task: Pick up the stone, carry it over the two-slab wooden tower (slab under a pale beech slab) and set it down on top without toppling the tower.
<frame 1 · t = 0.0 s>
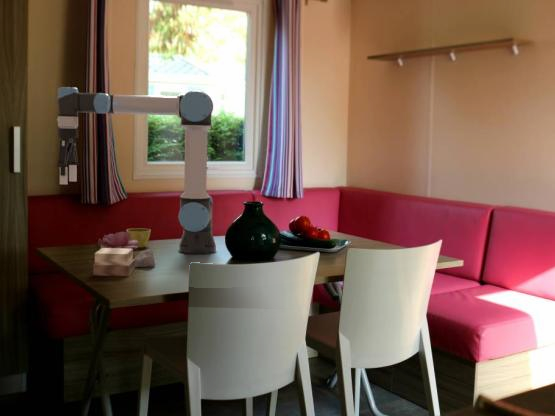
hand: (68, 182, 282), 28 cm above the table, fingers open, 13 cm apart
stone: (146, 266, 267), on the table
flower pot: (138, 247, 306), on the table
flower: (119, 257, 283), on the table
tower base: (114, 273, 254), on the table, touching tower top
tower top: (114, 262, 254), point 3 cm above the table, touching tower base
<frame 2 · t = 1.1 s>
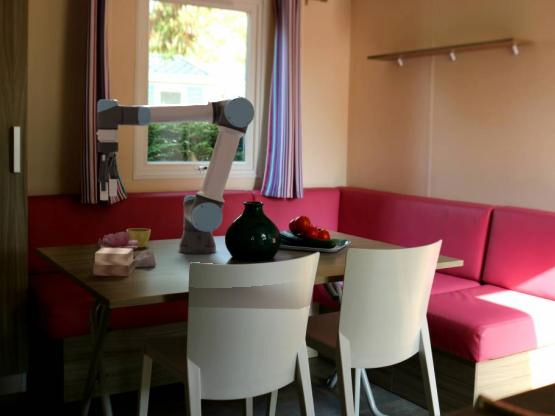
hand: (108, 198, 273), 24 cm above the table, fingers open, 13 cm apart
nothing on the table moved.
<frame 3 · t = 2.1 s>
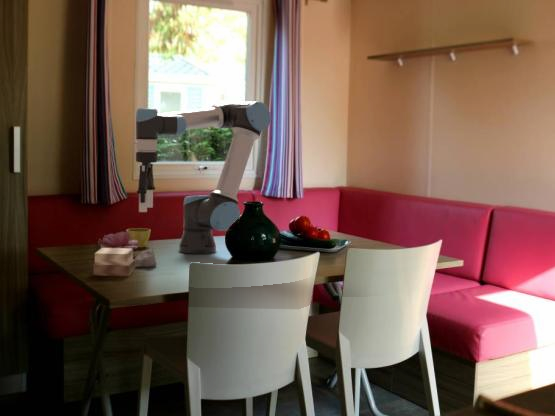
hand: (146, 209, 265), 21 cm above the table, fingers open, 13 cm apart
nothing on the table moved.
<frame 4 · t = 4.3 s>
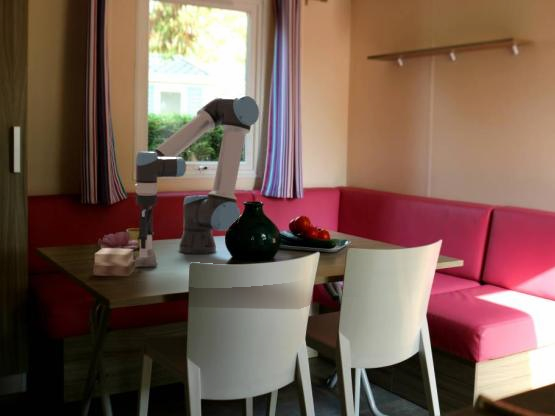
hand: (145, 254, 267), 4 cm above the table, fingers open, 10 cm apart
stone: (148, 266, 267), on the table, touching gripper
everything else where it was.
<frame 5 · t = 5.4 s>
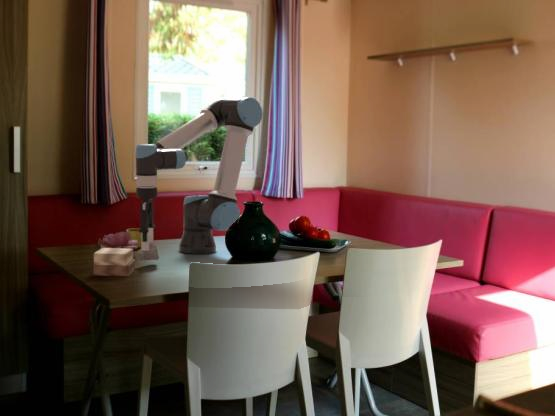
hand: (147, 247, 267), 7 cm above the table, fingers closed on stone, 9 cm apart
stone: (150, 259, 267), point 2 cm above the table, touching gripper
everything else where it was.
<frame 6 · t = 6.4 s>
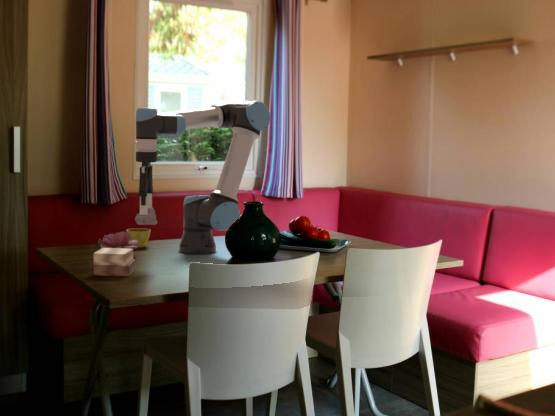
hand: (145, 212, 265), 20 cm above the table, fingers closed on stone, 9 cm apart
stone: (148, 224, 265), point 15 cm above the table, touching gripper
everything else where it was.
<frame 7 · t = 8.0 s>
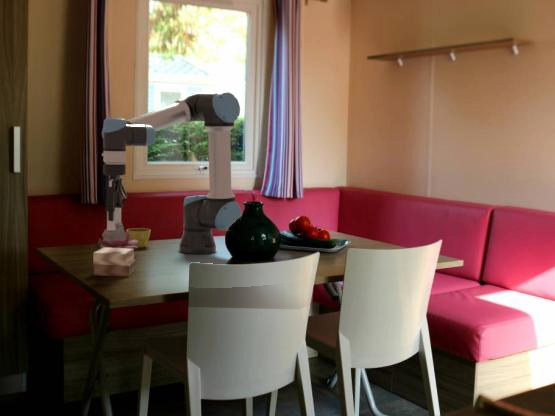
hand: (114, 228, 252), 16 cm above the table, fingers closed on stone, 9 cm apart
stone: (116, 240, 253), point 11 cm above the table, touching gripper
everything else where it was.
when the fingers open (12 cm above the table, at t = 9.0 s): stone moves 2 cm, resting on tower top.
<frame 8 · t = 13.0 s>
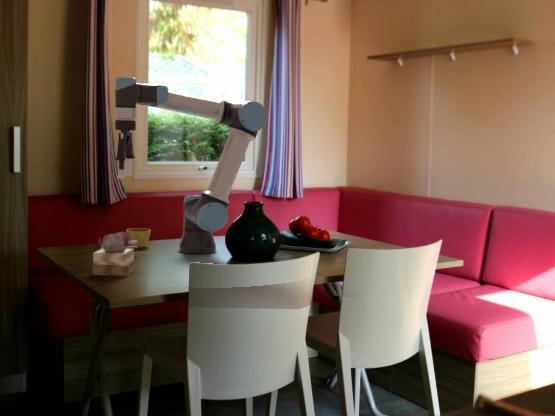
hand: (125, 177, 270), 32 cm above the table, fingers open, 13 cm apart
stone: (115, 251, 254), point 7 cm above the table, touching tower top
tower top: (113, 262, 254), point 3 cm above the table, touching stone, tower base
everything else where it was.
at the end: stone 0.7 cm from the tower top (horizontally); stone point 7.1 cm above the table; tower top tilted 0° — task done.
